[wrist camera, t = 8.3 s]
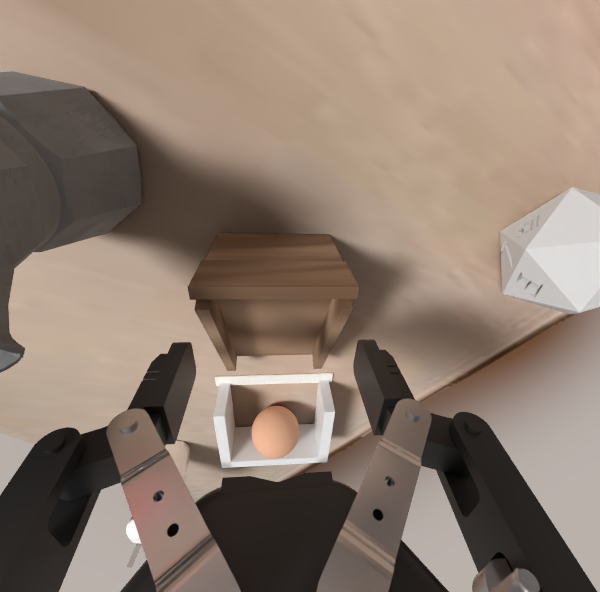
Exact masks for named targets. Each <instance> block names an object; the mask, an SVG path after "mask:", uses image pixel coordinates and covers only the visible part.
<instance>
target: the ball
mask: <svg viewBox="0 0 600 592" xmlns="http://www.w3.org/2000/svg"><path fill="white" fill-rule="evenodd" d="M298 438H299V425H298V421H297V419H296V417H295V416H294V414H293V413H292V412H291V411H290V410H288V409H287V408H285V407H282V406H271V407H268V408H266V409H264V410H262V411H261V412H260V413H259V414H258V415H257V417H256V418H255V420H254V423H253V426H252V441H253V444H254V446H255V447H256V449H257V450H258V451H259V452H260V453H261V454H262V455H264V456H265V457H268V458H274V459H276V458H281V457H284V456H286V455H287V454H289V453H290V452H291V451H292V450H293V449H294V447H295V446H296V444H297V441H298Z"/></svg>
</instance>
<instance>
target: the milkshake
mask: <svg viewBox="0 0 600 592" xmlns="http://www.w3.org/2000/svg"><path fill="white" fill-rule="evenodd" d="M165 448H166V450H168V451H169V453H170V455H171V457H172V459H173V461H174V463H175V465H176V467H177V468H178V470H179V472H180V474H181V476H182V478H183V480H184V482H185V479H186V474H187V468H188V463H189V457H190V445H188V444H187V443H185V442H184V441H177V440H176V442H175V444H166V446H165ZM126 533H127V536H128V537H129V538H130V540H131V541H132V542H134V543H137V544H136V547H135V549H134V551H133V554H132V556H131V558H130V561H129V563H128V566H127V567H132V566H133V564H134V561H135V559H136V556H137V554H138V552H139V549H140V547H141V545H142V544H141V541H140V538H139V535H138V532H137V529H136V526H135V523H134V520H133V517H131V519H130V521H129V523H128V525H127V527H126Z"/></svg>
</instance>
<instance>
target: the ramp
mask: <svg viewBox="0 0 600 592" xmlns="http://www.w3.org/2000/svg"><path fill="white" fill-rule="evenodd" d="M188 291H189V297H190V300H196V305H195V312H196V313H197V315H198V317H199V319H200V321H201V323H202V324H203V326H204V328H205V330H206V332H207V334H208V335H209V337H210V339H211V341H212V343H213V345H214V346H215V348H216V350H217V352H218V354H219V356H220V358H221V359H222V361H223V363H224V365H225V367H226V369H227V370H228V371H236V361H237V356H261V355H308V354H313V367H314V369H318V368H322V366H323V364H324V362H325V361H326V359H327V357H328V355H329V353H330V351H331V349H332V347H333V346H334V344H335V342H336V340H337V338H338V336H339V334H340V332H341V331H342V329H343V327H344V325H345V323H346V321H347V319H348V317H349V316H350V314H351V312H352V310H353V306H352V299H357V298H358V292H359V285H358V284H357V282H356V280H355V278H354V276H353V274H352V272H351V270H350V268H349V266H348V265H347V263H346V261H343V260H342V258H341V256H340V254H339V252H338V250H337V248H336V246H335V244H334V242H333V240H332V238H331V236H330V235H328V234H269V233H218V235H217V237H216V239H215V240H214V242H213V244H212V246H211V248H210V250H209V252H208V254H207V256H206V258H205V260H202V261H201V263H200V265H199V267H198V269H197V270H196V272H195V274H194V276H193V278H192V280H191V282H190V284H189V286H188Z"/></svg>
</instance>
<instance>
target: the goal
mask: <svg viewBox="0 0 600 592" xmlns="http://www.w3.org/2000/svg"><path fill="white" fill-rule="evenodd" d="M334 416H335V409H334V404H333V399H332V395H331V390H330V385H329V381H328V380H319V383H318V392H317V401H316V410H315V419H314V424H298V425H299V438H298V441H297V444H296V446H295V447H294V449H293V450H292V451H291V452H290V453H289V454H287V455H286V456H284V457H281V458H276V459H274V458H268V457H265V456H264V455H262V454H261V453H260V452H259V451H258V450H257V449H256V447H255V446H254V444H253V441H252V427H235V421H234V412H233V403H232V394H231V386H230V383H220V386H219V390H218V395H217V400H216V405H215V410H214V415H213V419H214V425H215V430H216V436H217V442H218V448H219V454H220V460H221V465H222V468H230V467H247V466H265V465H283V464H301V463H318V462H327V459H328V452H329V446H330V440H331V434H332V428H333V422H334Z"/></svg>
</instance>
